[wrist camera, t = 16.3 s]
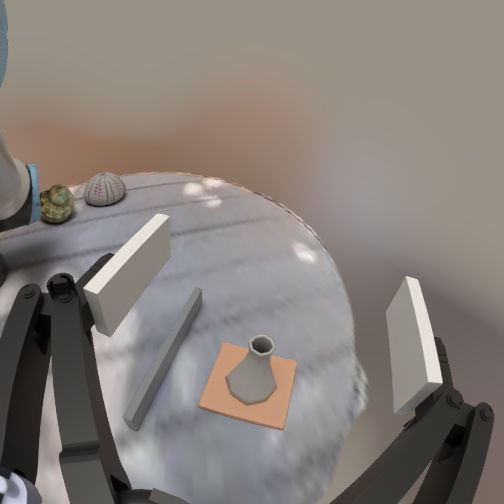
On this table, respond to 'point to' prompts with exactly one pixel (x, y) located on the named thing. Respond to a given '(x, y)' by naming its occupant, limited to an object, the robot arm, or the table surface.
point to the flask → (254, 372)
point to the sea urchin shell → (104, 189)
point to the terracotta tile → (228, 405)
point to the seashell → (56, 204)
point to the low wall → (162, 362)
